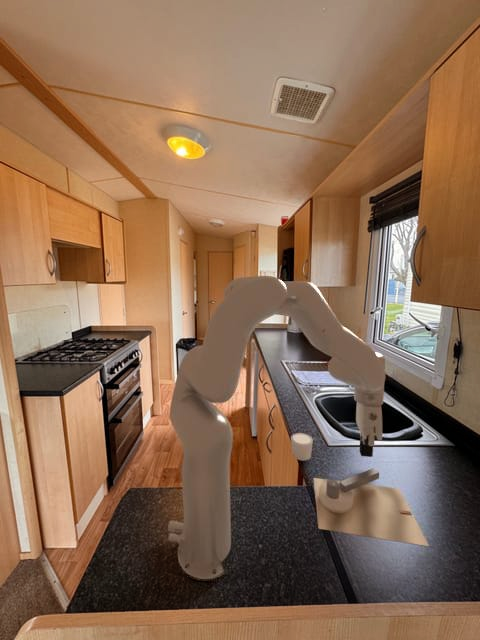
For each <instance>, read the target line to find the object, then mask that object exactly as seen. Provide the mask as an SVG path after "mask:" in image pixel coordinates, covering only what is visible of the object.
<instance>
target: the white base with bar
mask: <svg viewBox="0 0 480 640" xmlns="http://www.w3.org/2000/svg"><path fill="white" fill-rule="evenodd" d="M379 479H380V472H379V471H378V470H377V469H376V468H374V467H373V468H370V469H368V470H365V471H362V472H360V473H357V474H355V475H352V476H350V477H348V478H345V479H342V480H339V481H340V482H339V483H338V482H337V481H338V480H335V479H327V480H328V481H327V482H324V483H322V484H321V485H320V487H319V500H320V502H321V504H322V505H323V506H324V507H325V508H326V509H328V510H329V511H331V512H334V513H338V514H344V513H348V512H349V511H351V509H352V507H353V494H352V492H351V491H350V490H353V489H355V488H357V487H360V486H362V485H364V484H367V485H368V484H370V483H371V482H374V481H376V480H379ZM334 480H335V481H334Z"/></svg>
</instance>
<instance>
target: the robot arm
mask: <svg viewBox="0 0 480 640" xmlns="http://www.w3.org/2000/svg"><path fill="white" fill-rule="evenodd" d="M223 295H224V296H223V297H224V299H222V301H221V302H220V303H219V304H218V306H217V307H216V308H215V310H214V311H213V313H212V315H211V317H210V320H209V321H208V325H207V328H206V332H205V336H204V337H203V340H202V341H203V342H202V345H197V346H195V347H193V348H191V349H189V350H188V351H187V352H186V354H184V356H183V358H182V360H181V361H180V364H179V368H178V371H177V376H176V379H175V384H174V389H173V391H172V393H173V394H172V397H171V402H170V406H169V407H170V408H169V419H170V424H171V426H172V428H173V429H174V431H175V434H176V435H177V437H178V440H179V441H180V445H181V447H182V451H183V460H182V467H181V482H182V484H181V486H182V502H183V503H182V504H183V508H182V509H183V522H179V521H177V520H170V521H169V522H168V526H167V531H168V532H170V533H169V535H168V539H167V540H168V542H171V543H177V544H178V548H177V560H178V565H179V564H180V565H179V567H180V566H181V567H182V569H183V570H184V571H185V572H186V573H187V574H189V575H191V576H193V577H196V578H199V579H213V578H217V577H220V576H222V575H224V574H225V575H226V570H225V568H224V565H223V562H224V560H225V559H226V558H227V556H229V555H228V554H230V550H231V545H232V529H231V528H232V527H231V526H232V525H231V521H232V520H231V479H230V478H231V477H230V471H231V470H230V469H231V468H230V467H231V466H230V465H231V464H230V463H231V455H232V454H231V453H232V449H233V442H234V433H233V432H234V431H233V428H232V426H231V423H230V421H229V419H228V418H227V417H226V415H225V414H224V413H223V412H222V411H221V409H219V407H217V405H216V404H224V403H226V402H229V401H230V400H231V399H232V398H233V396H234V394H235V393H236V390H237V389H238V385H239V381H240V376H241V372H242V368H243V363H244V359H245V355H246V350H247V347H248V344H249V340H250V337H251V335H252V333H254V330H255V329H256V328H257V327H258V326H259V325H260V324H261V323H263V321H265V320H267V319H269V318H271V317H273V316H274V315H277V316H278V315H279V316H286V317H290V318H291V320H293V322H295V323H294V324H296V325H297V327H298V328H299V330H300V331H301V332H302V333H303V335H304V336H305V337H306V339H307V340H308V342H309V343H310V344H311V345H312V346H313V347H314V348H315V349H317V350H319V351H320V352H321V353H324V354H325V355H327V356H330V357H331V359H330V360H329V362H328V364H327V370H328V373H329V375H330V376H331V377H332V378H333V379H335V380H337V381H339V382H341V383H344V384H346V385H350V386H352V387H353V388H354V389H353V390H354V394H353V399H354V401H355V402H356V408H355V410H356V412H355V422H356V425H357V428H358V430H359V436H360V437H359V438H360V439H359V454H360V456H361V457H367V458H369V457H370V458H372V457H373V453H374V447H375V437H376V439H377V441H380V442H381V441H382V440H383V413H382V405H383V404H384V396H385V395H384V394H385V393H384V392H385V381H386V371H385V370H386V357H385V356H384V355H383V354H382V353H381V352H376V351H375V350H374V349H373V348H372V347H371V346H370V345H369V344H367V343H366V342H365V341H363V340H362V338H360V337H359V336H357V335H356V334H355V333H353V332H352V331H351V330H350V329H348V328H347V327H345V326H344V325H343V324H342V323H341V322H340V321H339V319H338V317H337V316H336V314H335V313H334V312H333V310H332V308H331V306H330V305H329V303H328V302H327V300H326V299H325V298H324V296H323V294H322V292H321V291H320V290H319V288H318V287H317V285H315V284H314V283H312V282H309V281H303V280H298V281H297V280H293V281H289V280H288V281H282V280H281V279H280V278H278V277H275V276H271V275H256V276H254V275H253V276H243V277H237V278H234V279H232V280H231V281H229V283H228V284H227V285H226V288H225V290H224V294H223ZM176 533H180V534H176ZM186 566H189V568H185V567H186ZM213 572H216V574H213ZM225 575H224V576H225ZM222 577H223V576H222Z"/></svg>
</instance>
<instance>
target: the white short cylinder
mask: <svg viewBox="0 0 480 640" xmlns="http://www.w3.org/2000/svg"><path fill="white" fill-rule="evenodd" d="M313 441H314V439H313V437H312V436H310V435H309V434H308V433H307V434H306V433H303V432H296V433H293V434H292V435H291V436H290V445H291V455H292V457H293V458H294V459H295V460H299V461H308V460H310V459H311V458H312V449H313V443H314V442H313Z"/></svg>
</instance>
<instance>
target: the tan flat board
mask: <svg viewBox="0 0 480 640" xmlns="http://www.w3.org/2000/svg"><path fill="white" fill-rule="evenodd" d="M328 480H329V479H325V478H317V477H313V486H314V495H315V496H314V497H315V505H316V506H315V507H316V516H317V517H316V518H317V525H318V526H317V527H318V529H319V530H323V531H324V530H326V531H332V532H335V533H336V532H337V533H344V534H349V535H356V536H363V537H366V538H367V537H368V538H373V539H380V540H386V541H387V540H388V541H393V542H400V543H404V544H406V543H407V544H411V545H418V546H419V545H420V546H423V547H424V546H425V547H429V546H430V545H429V543H428V541H427V540H426V537H425V536H424V533H423V532H422V530H421V527H420V526H419V524H418V521H417V520H416V518H415V516H414V514H413V512H412V510H411V507H410V506H409V504H408V502H407V501H406V498H405V497H404V494H403V492H402V491H401V489H400V488H397V487H391V486H384V485H383V486H382V485H374V484H368V483H367V484H364V485H362V486H360V487H357V488H355V489H353V490H350V491H351V492H352V494H353V507H352V509H351V511H349V512H348V513H344V514H338V513H334V512H331V511H329V510H328V509H326V508H325V507H324V506H323V505H322V504H321V502H320V500H319V487H320V485H321V484H322V483H324V482H327V481H328ZM333 480H334V481H337V482H338V483H339V482H340V481H341V480H335V479H333Z"/></svg>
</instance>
